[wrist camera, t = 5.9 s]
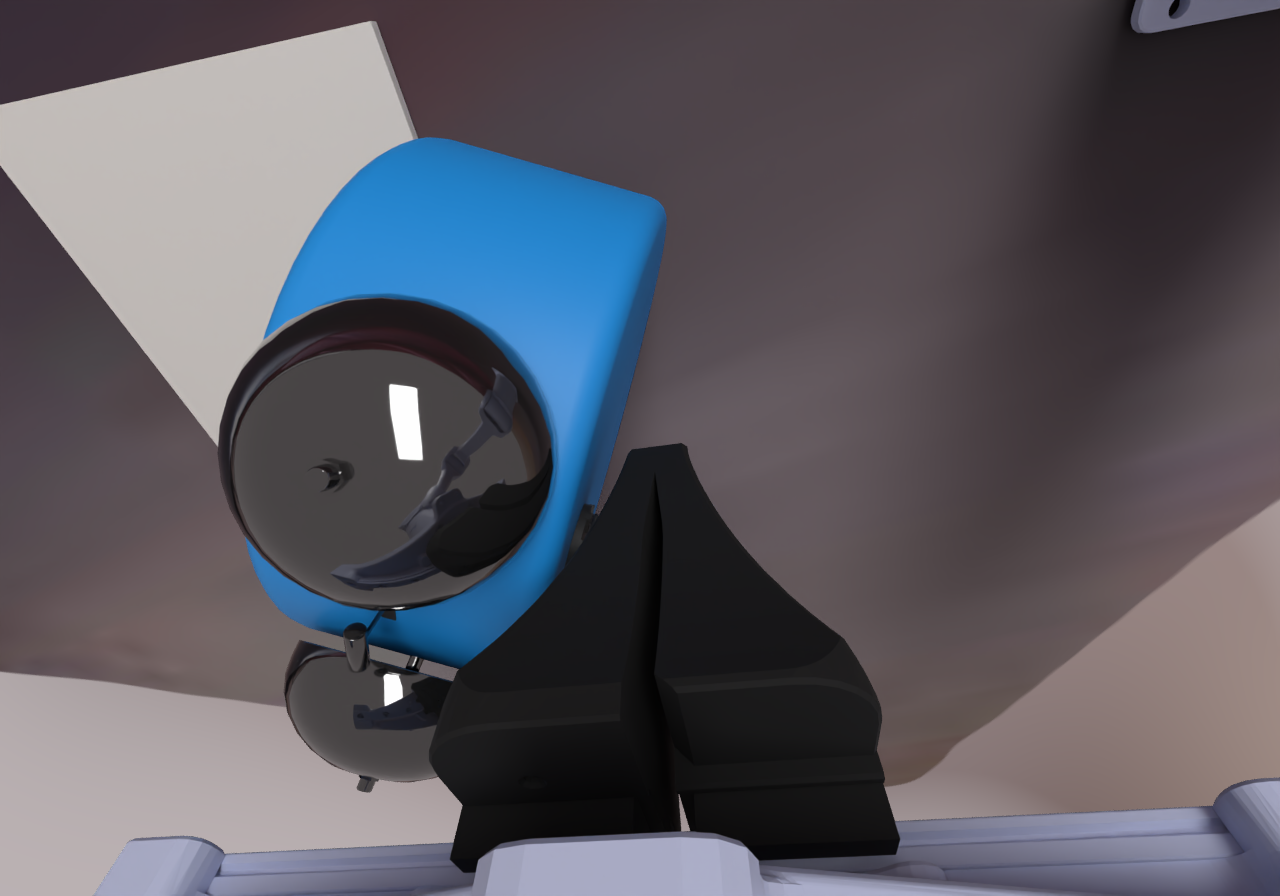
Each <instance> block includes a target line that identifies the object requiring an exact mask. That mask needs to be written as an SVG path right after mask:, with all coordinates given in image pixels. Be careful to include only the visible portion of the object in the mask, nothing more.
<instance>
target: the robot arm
mask: <svg viewBox="0 0 1280 896" xmlns="http://www.w3.org/2000/svg"><path fill="white" fill-rule="evenodd" d="M1173 1H1174V0H1136V1H1135V5H1134V8H1133V12H1132V16H1131V25H1132V28H1133V30H1135V31H1136V32H1137V33H1154V32H1159V31H1164V30H1169V29H1175V28H1180V27H1185V26H1190V25H1196V24H1201V23H1206V22H1211V21H1217V20H1222V19H1227V18H1232V17H1237V16H1243V15H1248V14H1253V13H1258V12H1264V11H1269V10H1274V9H1279V8H1280V0H1180V2H1179V7H1178V9H1177V11H1176V12H1175V13H1174V14H1173V15H1172V16H1171V17H1170V16H1169V15H1168V14H1169V8H1170V6H1171V4H1172V2H1173ZM881 723H882V713H881V706H880V703H879V701H878V698H877V695H876V693H875V691H874V689H873V687H872V685H871V683H870V681H869V679H868V677H867V675H866V673H865V671H864V670H863V668H862V666H861V665H860V663H859V661H858V660H857V658H856V656H855V655H854V653H853V652H852V650H851V649H850V647H849V646H848V644H847V643H846V641H845V640H844V638H842V637H841V636H840V635H838V634H837V633H836V632H834V631H833V630H832V629H830V628H829V627H828V626H826V625H825V624H824V623H823V622H821V621H820V620H819V619H817V618H816V617H815V616H814V615H812V614H811V613H810V612H809V611H808V610H806V609H805V608H804V607H803V606H802V605H801V604H799V603H798V602H797V601H796V600H795V599H794V598H792V597H791V596H790V595H789V594H788V593H787V592H786V591H785V590H784V589H783V588H782V587H781V586H780V585H779V584H778V583H777V582H776V581H775V580H774V579H773V578H772V577H771V576H770V575H768V574H767V573H766V572H765V571H764V570H763V569H762V568H761V566H760V565H759V564H758V563H757V562H756V561H755V560H754V559H753V558H752V556H751V555H750V554H749V553H748V552H747V551H746V550H745V548H744V547H743V546H742V545H741V544H740V542H739V541H738V540H737V539H736V537H735V536H734V535H733V533H732V532H731V531H730V529H729V528H728V527H727V525H726V524H725V522H724V521H723V519H722V518H721V517H720V515H719V514H718V512H717V511H716V509H715V508H714V506H713V504H712V503H711V501H710V499H709V498H708V496H707V494H706V492H705V491H704V489H703V487H702V485H701V483H700V482H699V480H698V478H697V475H696V473H695V471H694V469H693V466H692V464H691V461H690V458H689V454H688V449H687V446H685V445H684V444H682V443H679V444H672V445H664V446H656V447H648V448H640V449H632V450H631V451H630V452H629V454H628V456H627V458H626V461H625V464H624V466H623V469H622V471H621V473H620V475H619V478H618V480H617V482H616V484H615V486H614V488H613V490H612V492H611V494H610V496H609V498H608V500H607V502H606V504H605V506H604V507H603V509H602V511H601V513H600V515H599V516H598V518H597V520H596V521H595V523H594V525H593V526H592V528H591V529H590V531H589V533H588V534H587V536H586V538H585V539H584V541H583V542H582V544H581V545H580V547H579V548H578V550H577V551H576V552H575V554H574V555H573V557H572V558H571V559H570V561H569V562H568V563H567V565H566V566H565V567H564V569H563V570H562V571H561V572H560V573H559V575H558V576H557V577H556V578H555V579H554V581H553V582H552V583H551V584H550V585H549V587H548V588H547V589H546V590H545V591H544V593H543V594H542V595H541V596H540V597H539V598H538V599H537V600H536V601H535V602H534V603H533V605H532V606H531V607H530V608H529V609H528V610H527V611H525V612H524V613H523V614H522V615H521V616H520V617H519V618H518V619H517V620H516V621H515V622H514V623H513V624H512V625H511V626H510V627H509V628H508V629H507V630H506V631H505V632H504V633H503V634H502V635H501V636H499V637H498V638H497V639H496V640H495V641H494V642H492V643H491V644H490V645H489V646H488V647H486V648H485V649H484V650H483V651H482V652H480V653H479V654H478V655H477V656H475V657H474V658H473V659H472V660H471V661H469V662H468V663H467V664H466V665H464V666H463V667H462V668H460V669H459V670H458V671H457V673H456V676H455V678H454V681H453V683H452V685H451V687H450V689H449V692H448V694H447V696H446V699H445V702H444V704H443V707H442V710H441V713H440V717H439V720H438V723H437V726H436V729H435V733H434V736H433V739H432V742H431V746H430V749H429V762H430V764H431V766H432V767H433V769H434V771H435V773H436V774H437V776H438V777H439V778H440V779H441V780H442V781H443V783H444V784H445V785H446V786H447V787H448V788H449V790H450V791H451V792H452V793H453V794H454V795H455V797H456V798H457V799H458V800H459V801H460V802H461V803H462V805H463V806H462V810H461V815H460V819H459V823H458V827H457V831H456V835H455V839H454V843H438V844H417V845H398V846H376V847H355V848H335V849H314V850H296V851H295V850H293V851H274V852H252V853H232V854H224V852H223V850H222V849H221V848H219V847H218V846H217V845H215V844H213V843H212V842H210V841H207V840H205V839H202V838H198V837H193V836H171V837H152V838H136V839H133V840H131V841H129V842H128V843H127V844H126V846H125V847H124V849H123V850H122V852H121V853H120V855H119V856H118V858H117V860H116V861H115V863H114V864H113V866H112V867H111V869H110V871H109V872H108V873H107V875H106V877H105V878H104V880H103V881H102V883H101V884H100V886H99V887H98V889H97V891H96V892H95V894H94V895H93V896H1280V778H1261V779H1254V780H1247V781H1243V782H1240V783H1237V784H1234V785H1231V786H1230V787H1228V788H1227V789H1225V790H1223V791H1222V792H1221V793H1220V794H1219V796H1218V797H1217V798H1216V800H1215V802H1214V804H1213V806H1201V807H1200V806H1199V807H1178V808H1158V809H1137V810H1118V811H1096V812H1075V813H1055V814H1035V815H1013V816H993V817H974V818H973V817H972V818H952V819H931V820H912V821H895V820H894V817H893V814H892V810H891V808H890V804H889V801H888V798H887V794H886V791H885V788H884V785H883V783H884V781H885V777H884V771H883V768H882V765H881V762H880V759H879V756H878V753H877V746H878V740H879V734H880V729H881ZM678 794H680V798H681V801H682V805H683V808H684V811H685V815H686V818H687V821H688V825H689V828H690V831H685V832H681V821H680V809H679V795H678Z"/></svg>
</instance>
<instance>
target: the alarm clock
mask: <svg viewBox="0 0 1280 896" xmlns="http://www.w3.org/2000/svg"><path fill="white" fill-rule="evenodd" d="M666 221H667V219H666V214H665V210H664V208H663V207H662V205H661V204H660V203H659V202H658V201H657V200H655V199H653V198H652V197H649V196H646V195H642V194H639V193H635V192H632V191H628V190H625V189H621V188H618V187H614V186H611V185H607V184H604V183H600V182H597V181H594V180H590V179H587V178H583V177H580V176H576V175H573V174H569V173H566V172H562V171H559V170H555V169H552V168H548V167H545V166H541V165H538V164H534V163H531V162H527V161H524V160H520V159H517V158H513V157H510V156H506V155H503V154H499V153H496V152H492V151H489V150H485V149H482V148H478V147H475V146H471V145H468V144H464V143H461V142H457V141H454V140H450V139H442V138H420V139H414V140H411V141H408V142H405V143H402V144H400V145H398V146H396V147H394V148H392V149H390V150H388V151H386V152H385V153H383V154H381V155H379V156H378V157H376V158H375V159H373V160H372V161H371V162H369V163H368V164H367V165H366V166H364V167H363V168H362V169H361V170H359V171H358V172H357V173H356V174H355V175H354V176H353V177H352V178H351V180H350V181H349V182H348V183H347V184H346V185H345V186H344V187H343V188H342V189H341V190H340V191H339V193H338V194H337V195H336V196H335V198H334V199H333V200H332V201H331V203H330V204H329V205H328V206H327V208H326V209H325V211H324V212H323V214H322V215H321V217H320V218H319V220H318V221H317V223H316V224H315V226H314V227H313V229H312V230H311V232H310V233H309V235H308V237H307V239H306V241H305V242H304V244H303V246H302V248H301V250H300V252H299V253H298V255H297V257H296V259H295V261H294V263H293V265H292V267H291V269H290V271H289V274H288V276H287V278H286V280H285V282H284V285H283V287H282V289H281V291H280V294H279V296H278V299H277V301H276V304H275V307H274V309H273V312H272V315H271V318H270V320H269V323H268V326H267V328H266V332H265V335H264V338H263V341H262V342H261V343H260V345H259V346H258V347H257V348H256V349H255V351H254V352H253V353H252V354H251V355H250V357H249V358H248V359H247V360H246V361H245V362H244V364H243V366H242V368H241V370H240V372H239V374H238V375H237V377H236V379H235V381H234V383H233V385H232V387H231V389H230V391H229V394H228V397H227V401H226V404H225V408H224V412H223V415H222V419H221V422H220V427H219V441H218V461H219V469H220V477H221V483H222V486H223V489H224V492H225V496H226V499H227V502H228V505H229V508H230V510H231V512H232V514H233V516H234V518H235V520H236V521H237V523H238V525H239V527H240V529H241V531H242V532H243V534H244V536H245V538H246V542H247V547H248V552H249V555H250V558H251V561H252V564H253V566H254V569H255V572H256V574H257V576H258V578H259V580H260V582H261V584H262V586H263V587H264V589H265V591H266V592H267V594H268V596H269V597H270V598H271V600H272V601H273V602H274V604H275V605H276V606H277V607H278V609H279V610H280V611H282V612H283V613H284V614H285V615H287V616H288V617H289V618H290V619H292V620H294V621H296V622H298V623H300V624H302V625H304V626H306V627H308V628H311V629H315V630H318V631H322V632H326V633H329V634H333V635H337V636H340V637H343V638H344V644H345V651H346V652H343V651H339V650H335V649H332V648H328V647H324V646H321V645H317V644H313V643H309V642H306V641H302V640H299V642H298V644H297V646H296V648H295V650H294V652H293V654H292V656H291V659H290V661H289V664H288V667H287V670H286V673H285V683H284V698H285V703H286V708H287V713H288V715H289V717H290V719H291V721H292V723H293V726H294V728H295V730H296V732H297V734H298V735H299V736H300V737H301V738H302V740H303V741H304V742H305V743H306V745H307V746H308V747H309V748H310V749H311V750H312V751H313V752H315V753H316V754H317V755H319V756H320V757H321V758H322V759H324V760H325V761H326V762H328V763H329V764H331V765H333V766H334V767H337V768H339V769H342V770H345V771H348V772H351V773H355V774H358V775H359V777H360V778H361V779H360V781H359V783H358V786H357V790H359V791H362V792H371V791H372V789H373V786H374V784H375V781H378V780H379V779H381V780H387V781H394V782H415V781H421V780H427V779H433V778H436V777H438V776H437V774H436V773H435V771H434V769H433V767H432V766H431V764H430V762H429V749H430V746H431V742H432V739H433V736H434V733H435V729H436V726H437V723H438V720H439V717H440V713H441V710H442V707H443V704H444V702H445V699H446V696H447V694H448V692H449V689H450V687H451V685H452V683H453V681H449V680H445V679H442V678H438V677H434V676H431V675H427V674H423V673H420V672H419V670H420V667H421V665H422V662H423V660H428V661H432V662H435V663H439V664H443V665H446V666H450V667H454V668H457V669H460V668H462V667H463V666H464V665H466V664H467V663H468V662H469V661H471V660H472V659H473V658H474V657H475V656H477V655H478V654H479V653H480V652H482V651H483V650H484V649H485V648H486V647H488V646H489V645H490V644H491V643H492V642H494V641H495V640H496V639H497V638H498V637H499V636H501V635H502V634H503V633H504V632H505V631H506V630H507V629H508V628H509V627H510V626H511V625H512V624H513V623H514V622H515V621H516V620H517V619H518V618H519V617H520V616H521V615H522V614H523V613H524V612H525V611H527V610H528V609H529V608H530V607H531V606H532V605H533V603H534V602H535V601H536V600H537V599H538V598H539V597H540V596H541V595H542V594H543V593H544V591H545V590H546V589H547V588H548V587H549V585H550V584H551V583H552V582H553V581H554V579H555V578H556V577H557V576H558V575H559V573H560V572H561V571H562V570H563V569H564V567H565V566H566V565H567V563H568V562H569V561H570V559H571V558H572V557H573V555H574V554H575V552H576V551H577V550H578V548H579V547H580V545H581V544H582V542H583V541H584V539H585V538H586V536H587V534H588V533H589V531H590V529H591V528H592V526H593V525H594V523H595V521H596V520H597V518H598V515H597V514H595V511H596V508H597V504H598V501H599V498H600V494H601V491H602V487H603V484H604V480H605V477H606V473H607V470H608V466H609V463H610V459H611V456H612V452H613V449H614V445H615V442H616V438H617V434H618V431H619V427H620V423H621V420H622V416H623V413H624V409H625V405H626V401H627V398H628V394H629V390H630V386H631V383H632V379H633V375H634V371H635V368H636V364H637V360H638V356H639V352H640V348H641V344H642V340H643V336H644V332H645V328H646V324H647V320H648V316H649V312H650V308H651V303H652V299H653V295H654V291H655V286H656V282H657V277H658V272H659V268H660V263H661V258H662V253H663V247H664V241H665V234H666ZM368 644H370V645H373V646H377V647H381V648H384V649H388V650H392V651H395V652H399V653H403V654H406V655H410V658H409V661H408V663H407V666H406V668H401V667H398V666H394V665H390V664H387V663H383V662H379V661H376V660H372V659H370V655H369V645H368Z"/></svg>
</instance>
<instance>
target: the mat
mask: <svg viewBox="0 0 1280 896" xmlns="http://www.w3.org/2000/svg"><path fill="white" fill-rule="evenodd" d="M414 139H418V137H417V134H416V131H415V129H414V126H413V123H412V120H411V117H410V115H409V112H408V109H407V106H406V103H405V101H404V98H403V95H402V92H401V90H400V87H399V84H398V81H397V78H396V76H395V73H394V70H393V67H392V64H391V62H390V59H389V56H388V53H387V51H386V48H385V45H384V42H383V39H382V37H381V34H380V31H379V28H378V25H377V23H376V21H369V22H365V23H360V24H356V25H352V26H347V27H343V28H338V29H334V30H330V31H325V32H321V33H316V34H312V35H308V36H303V37H299V38H294V39H290V40H285V41H281V42H277V43H272V44H268V45H263V46H259V47H255V48H250V49H246V50H241V51H237V52H233V53H228V54H224V55H219V56H215V57H211V58H206V59H202V60H197V61H193V62H188V63H184V64H180V65H175V66H171V67H166V68H162V69H158V70H153V71H149V72H144V73H140V74H136V75H131V76H127V77H122V78H118V79H114V80H109V81H105V82H100V83H96V84H91V85H87V86H83V87H78V88H74V89H69V90H65V91H61V92H56V93H52V94H47V95H43V96H39V97H34V98H30V99H25V100H21V101H17V102H12V103H8V104H3V105H0V166H1V167H2V168H3V170H4V171H5V172H6V173H7V175H8V176H9V177H10V179H11V180H12V181H13V182H14V184H15V185H16V186H17V188H18V189H19V190H20V192H21V193H22V194H23V195H24V197H25V198H26V199H27V201H28V202H29V203H30V204H31V206H32V207H33V208H34V210H35V211H36V212H37V214H38V215H39V216H40V217H41V219H42V220H43V221H44V223H45V224H46V225H47V226H48V228H49V229H50V230H51V232H52V233H53V234H54V235H55V237H56V238H57V239H58V241H59V242H60V243H61V245H62V246H63V247H64V248H65V250H66V251H67V252H68V254H69V255H70V256H71V257H72V259H73V260H74V261H75V263H76V264H77V265H78V266H79V268H80V269H81V270H82V272H83V273H84V274H85V276H86V277H87V278H88V279H89V281H90V282H91V283H92V285H93V286H94V287H95V288H96V290H97V291H98V292H99V294H100V295H101V296H102V297H103V299H104V300H105V301H106V303H107V304H108V305H109V307H110V308H111V309H112V310H113V312H114V313H115V314H116V316H117V317H118V318H119V319H120V321H121V322H122V323H123V325H124V326H125V327H126V328H127V330H128V331H129V332H130V334H131V335H132V336H133V338H134V339H135V340H136V341H137V343H138V344H139V345H140V347H141V348H142V349H143V350H144V352H145V353H146V354H147V356H148V357H149V358H150V359H151V361H152V362H153V363H154V365H155V366H156V367H157V369H158V370H159V371H160V372H161V374H162V375H163V376H164V378H165V379H166V380H167V381H168V383H169V384H170V385H171V387H172V388H173V389H174V390H175V392H176V393H177V394H178V396H179V397H180V398H181V400H182V401H183V402H184V403H185V405H186V406H187V407H188V409H189V410H190V411H191V412H192V414H193V415H194V416H195V418H196V419H197V420H198V421H199V423H200V424H201V425H202V427H203V428H204V429H205V431H206V432H207V433H208V434H209V436H210V437H211V438H212V440H213V441H214V442H215V443H216V445H217V446H218V441H219V427H220V422H221V419H222V415H223V412H224V408H225V404H226V401H227V397H228V394H229V391H230V389H231V387H232V385H233V383H234V381H235V379H236V377H237V375H238V374H239V372H240V370H241V368H242V366H243V364H244V362H245V361H246V360H247V359H248V358H249V357H250V355H251V354H252V353H253V352H254V351H255V349H256V348H257V347H258V346H259V345H260V343H261V342H262V341H263V338H264V335H265V332H266V328H267V326H268V323H269V320H270V318H271V315H272V312H273V309H274V307H275V304H276V301H277V299H278V296H279V294H280V291H281V289H282V287H283V285H284V282H285V280H286V278H287V276H288V274H289V271H290V269H291V267H292V265H293V263H294V261H295V259H296V257H297V255H298V253H299V252H300V250H301V248H302V246H303V244H304V242H305V241H306V239H307V237H308V235H309V233H310V232H311V230H312V229H313V227H314V226H315V224H316V223H317V221H318V220H319V218H320V217H321V215H322V214H323V212H324V211H325V209H326V208H327V206H328V205H329V204H330V203H331V201H332V200H333V199H334V198H335V196H336V195H337V194H338V193H339V191H340V190H341V189H342V188H343V187H344V186H345V185H346V184H347V183H348V182H349V181H350V180H351V178H352V177H353V176H354V175H355V174H356V173H357V172H358V171H359V170H361V169H362V168H363V167H364V166H366V165H367V164H368V163H369V162H371V161H372V160H373V159H375V158H376V157H378V156H379V155H381V154H383V153H385V152H386V151H388V150H390V149H392V148H394V147H396V146H398V145H400V144H402V143H405V142H408V141H411V140H414Z"/></svg>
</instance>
